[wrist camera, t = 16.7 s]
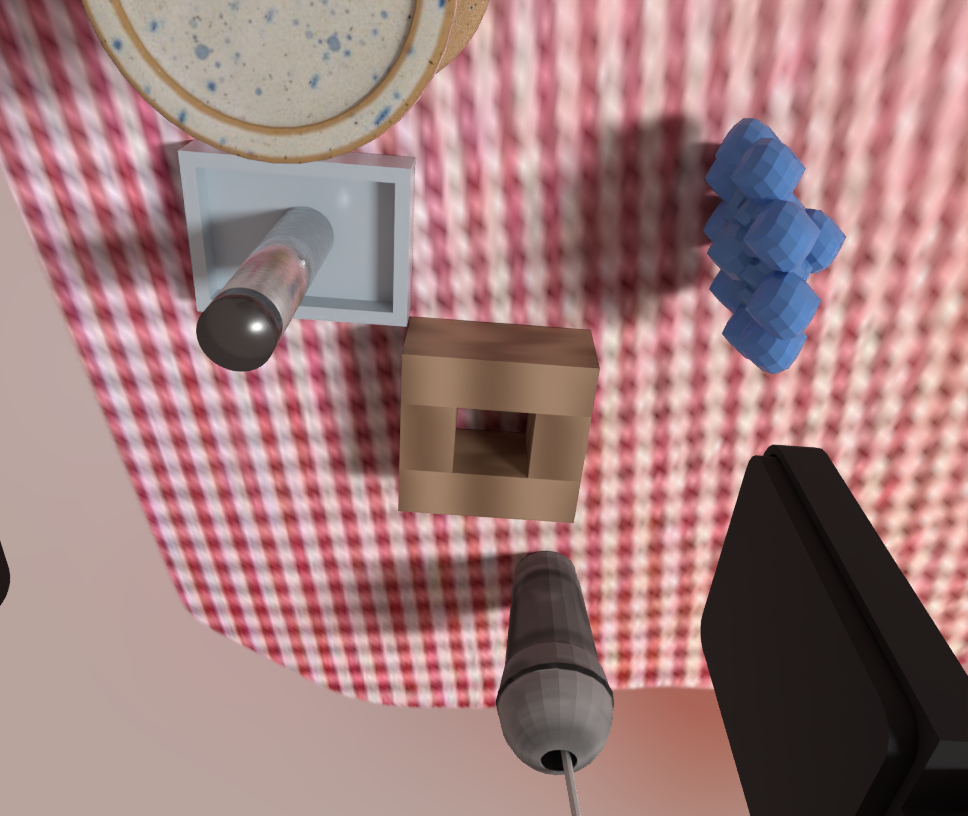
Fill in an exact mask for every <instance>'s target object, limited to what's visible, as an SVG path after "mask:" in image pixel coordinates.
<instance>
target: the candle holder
mask: <svg viewBox="0 0 968 816" xmlns="http://www.w3.org/2000/svg"><path fill="white" fill-rule="evenodd" d="M81 1H82V4H83V6H84V9H85V12H86V14H87V17H88V19H89V21H90V23H91V25H92V27H93V28H94V30H95V32H96V34H97V36H98V38H99V40H100V42H101V44H102V46H103V48H104V49H105V50H106V52H107V53H108V55H109V56H110V58H111V59H112V61H113V62H114V64H115V65H116V66H117V68H118V69H119V71H120V72H121V74H122V75H123V76H124V77H125V78H126V80H127V81H128V82H129V83H130V84H131V85H132V86H133V88H134V89H135V90H136V91H137V92H138V93H139V94H140V95H141V97H142V98H143V99H144V100H145V101H146V102H148V103H149V104H150V105H151V106H152V107H153V108H154V109H156V110H157V111H158V112H159V113H160V114H161V115H162V116H163V117H165V118H166V119H167V120H168V121H170V122H171V123H173V124H174V125H176V126H177V127H179V128H180V129H182V130H183V131H185V132H186V133H187V134H189V135H190V136H192V137H194V138H196V139H198V140H200V141H202V142H204V143H206V144H208V145H210V146H212V147H214V148H216V149H218V150H220V151H223V152H226V153H230V154H233V155H236V156H239V157H242V158H245V159H249V160H255V161H261V162H267V163H273V164H303V163H309V162H316V161H322V160H328V159H331V158H334V157H337V156H340V155H343V154H346V153H349V152H352V151H354V150H356V149H358V148H360V147H361V146H363V145H365V144H367V143H369V142H371V141H373V140H374V139H376V138H378V137H379V136H381V135H382V134H383V133H384V132H386V131H387V130H388V129H390V128H391V127H392V126H393V125H395V124H396V123H397V122H399V121H400V120H401V119H402V117H403V116H404V115H405V114H406V113H407V112H408V111H409V110H410V109H411V108H412V107H413V105H414V104H415V103H416V102H417V101H418V100H419V98H420V97H421V95H422V94H423V92H424V91H425V89H426V88H427V86H428V85H429V83H430V81H431V80H432V78H433V77H434V75H435V74H436V73H438V72H439V71H440V70H441V69H443V68H444V67H445V66H446V65H448V64H449V63H450V62H452V61H453V60H454V59H455V58H456V56H457V55H458V54H459V53H460V52H461V51H462V50H463V49H464V48H465V47H466V45H467V44H468V42H469V41H470V39H471V38H472V36H473V35H474V33H475V32H476V30H477V29H478V27H479V24H480V22H481V20H482V18H483V16H484V14H485V11H486V9H487V6H488V3H489V0H81Z"/></svg>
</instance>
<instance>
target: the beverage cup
mask: <svg viewBox="0 0 968 816" xmlns="http://www.w3.org/2000/svg"><path fill="white" fill-rule="evenodd" d="M496 706H497V711H498V715H499V718H500V723H501V727H502V731H503V735H504V737H505V739H506V742H507V743H508V745H509V746H510V747H511V749H512V750H513V752H514V753H515V754H516V756H517V757H518V758H519V759H520V760H521V761H522V762H524V763H525V764H527V765H528V766H530V767H531V768H533V769H535V770H537V771H539V772H542V773H545V774H553V775H562V774H565V779H566V785H567V790H568V796H569V802H570V808H571V813H572V816H581V811H580V805H579V799H578V795H577V788H576V783H575V777H574V772H576V771H579V770H580V769H582V768H584V767H585V766H587V765H588V764H590V763H591V762H592V761H593V760H594V759H595V758H596V757H597V756H598V754H599V753H600V752H601V751H602V749H603V748H604V745H605V744H606V741H607V738H608V736H609V733H610V729H611V726H612V719H613V717H612V711H613V707H614V700H613V692H612V690H611V688H610V687H609V685H608V681H607V679H606V676H605V673H604V671H603V668H602V667H601V665H600V663H599V660H598V656H597V652H596V648H595V644H594V639H593V635H592V631H591V627H590V623H589V619H588V615H587V611H586V607H585V603H584V599H583V595H582V591H581V587H580V582H579V580H578V578H577V575H576V573H575V567H574V565H573V564H572V562H571V561H570V560H569V559H568V558H567V557H565V556H564V555H562V554H559V553H557V552H550V551H542V552H536V553H533V554H530V555H528V556H526V557H525V558H524V559H522V560H521V561H520V563H519V564H518V565H517V567H516V571H515V580H514V584H513V588H512V598H511V609H510V619H509V629H508V640H507V650H506V661H505V668H504V672H503V676H502V680H501V684H500V688H499V691H498V695H497V699H496Z"/></svg>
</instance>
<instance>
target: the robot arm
mask: <svg viewBox="0 0 968 816" xmlns="http://www.w3.org/2000/svg"><path fill="white" fill-rule="evenodd" d="M9 584H10V572H9V567H8V564H7V561H6V558H5V555H4V551H3V548H2V545H1V542H0V605H1V604H2V602H3V600H4V599H5V597H6V595H7V592H8V589H9ZM701 643H702V648H703V652H704V655H705V659H706V662H707V666H708V669H709V673H710V676H711V680H712V683H713V687H714V690H715V694H716V697H717V701H718V704H719V708H720V711H721V715H722V718H723V722H724V725H725V729H726V732H727V736H728V739H729V743H730V746H731V750H732V753H733V757H734V760H735V764H736V767H737V771H738V774H739V777H740V781H741V785H742V788H743V792H744V795H745V799H746V802H747V806H748V809H749V813H750V816H968V675H967V674H966V672H965V671H964V669H963V668H962V666H961V664H960V663H959V661H958V660H957V658H956V656H955V655H954V653H953V652H952V650H951V649H950V647H949V645H948V644H947V642H946V641H945V639H944V638H943V636H942V634H941V633H940V631H939V630H938V628H937V626H936V625H935V623H934V622H933V620H932V619H931V617H930V615H929V614H928V612H927V611H926V609H925V608H924V606H923V604H922V603H921V601H920V600H919V598H918V596H917V595H916V593H915V592H914V590H913V589H912V587H911V585H910V584H909V582H908V581H907V579H906V578H905V576H904V575H903V573H902V572H901V570H900V569H899V567H898V566H897V564H896V562H895V561H894V559H893V558H892V556H891V554H890V553H889V551H888V550H887V548H886V547H885V545H884V543H883V542H882V540H881V539H880V537H879V536H878V534H877V532H876V531H875V529H874V528H873V526H872V524H871V523H870V521H869V520H868V518H867V517H866V515H865V513H864V512H863V510H862V509H861V507H860V506H859V504H858V502H857V501H856V499H855V498H854V496H853V494H852V493H851V491H850V490H849V488H848V487H847V485H846V483H845V482H844V480H843V479H842V477H841V476H840V474H839V472H838V471H837V469H836V468H835V466H834V464H833V463H832V461H831V460H830V458H829V457H828V455H827V454H826V453H825V451H824V450H823V449H820V448H814V447H800V446H786V445H771V446H769V447H768V449H767V450H766V451H765V453H764V455H763V456H757V455H755V456H753V457H752V458H751V459H750V460H749V463H748V465H747V468H746V471H745V475H744V478H743V481H742V485H741V488H740V491H739V495H738V498H737V501H736V505H735V508H734V511H733V515H732V518H731V521H730V525H729V528H728V531H727V535H726V538H725V541H724V545H723V548H722V551H721V555H720V558H719V561H718V565H717V568H716V571H715V575H714V578H713V581H712V585H711V588H710V591H709V595H708V598H707V601H706V605H705V608H704V612H703V615H702V619H701Z"/></svg>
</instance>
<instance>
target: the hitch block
mask: <svg viewBox="0 0 968 816" xmlns="http://www.w3.org/2000/svg"><path fill="white" fill-rule="evenodd" d="M599 370H600V367H599V363H598V359H597V355H596V350H595V346H594V342H593V337H592V333H591V330H583V329H569V328H556V327H543V326H529V325H516V324H502V323H489V322H475V321H462V320H449V319H435V318H422V317H410V322H409V326H408V330H407V335H406V339H405V343H404V348H403V352H402V375H401V419H400V462H399V505H398V511H405V512H420V513H435V514H449V515H464V516H478V517H493V518H508V519H522V520H537V521H551V522H566V523H574V518H575V512H576V506H577V500H578V494H579V488H580V482H581V476H582V471H583V465H584V459H585V453H586V447H587V441H588V435H589V429H590V423H591V417H592V412H593V406H594V400H595V394H596V388H597V382H598V376H599ZM457 408H466V409H480V410H494V411H508V412H522V413H528V418H527V427H526V434H525V433H511V432H497V431H483V430H469V429H456V423H457Z"/></svg>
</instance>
